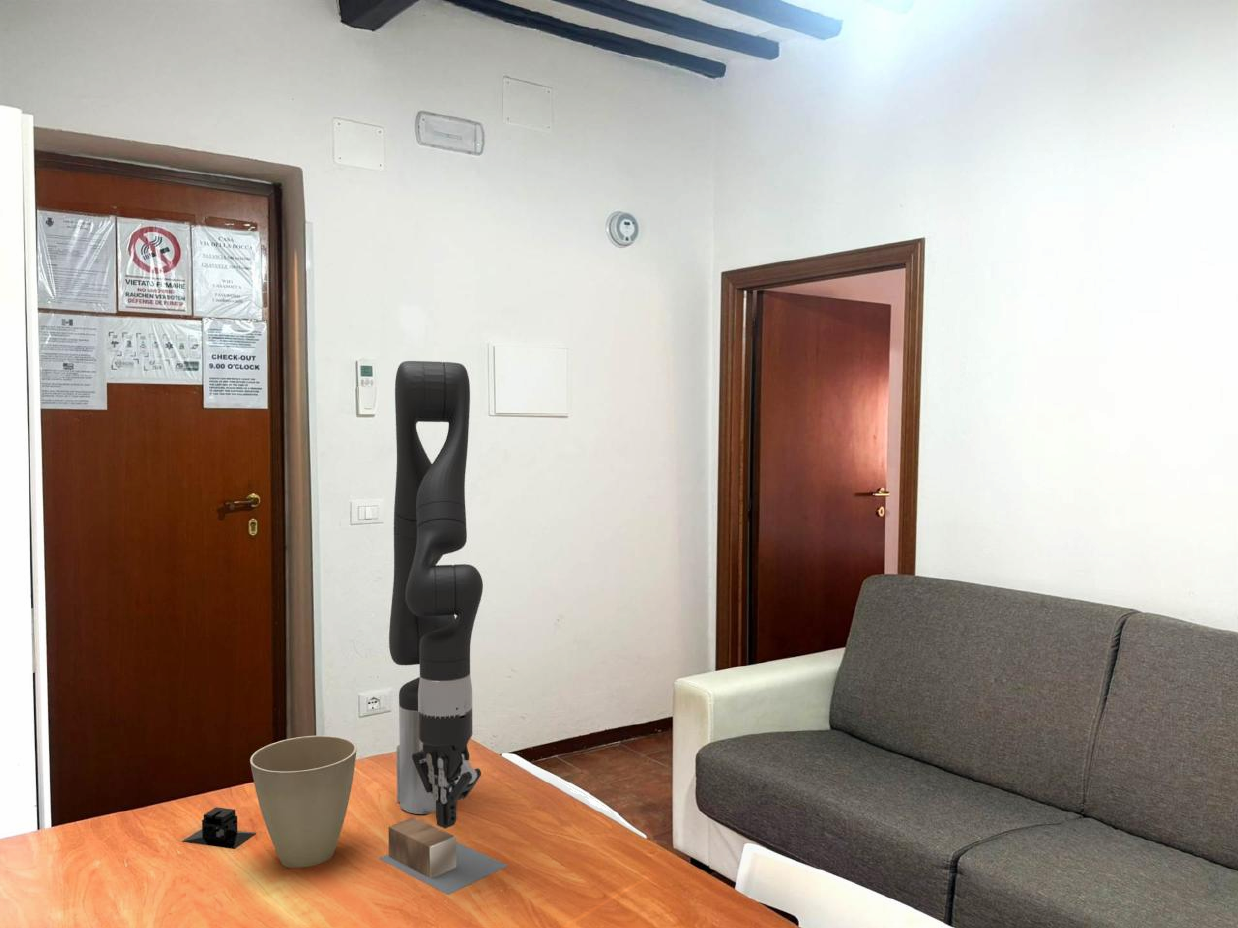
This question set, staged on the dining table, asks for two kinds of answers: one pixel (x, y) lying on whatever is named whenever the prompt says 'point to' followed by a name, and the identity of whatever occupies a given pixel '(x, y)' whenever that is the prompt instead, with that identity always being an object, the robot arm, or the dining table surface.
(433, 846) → the walnut block
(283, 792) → the plant pot
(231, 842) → the slotted block on plate
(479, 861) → the rubber mat
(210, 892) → the dining table surface
